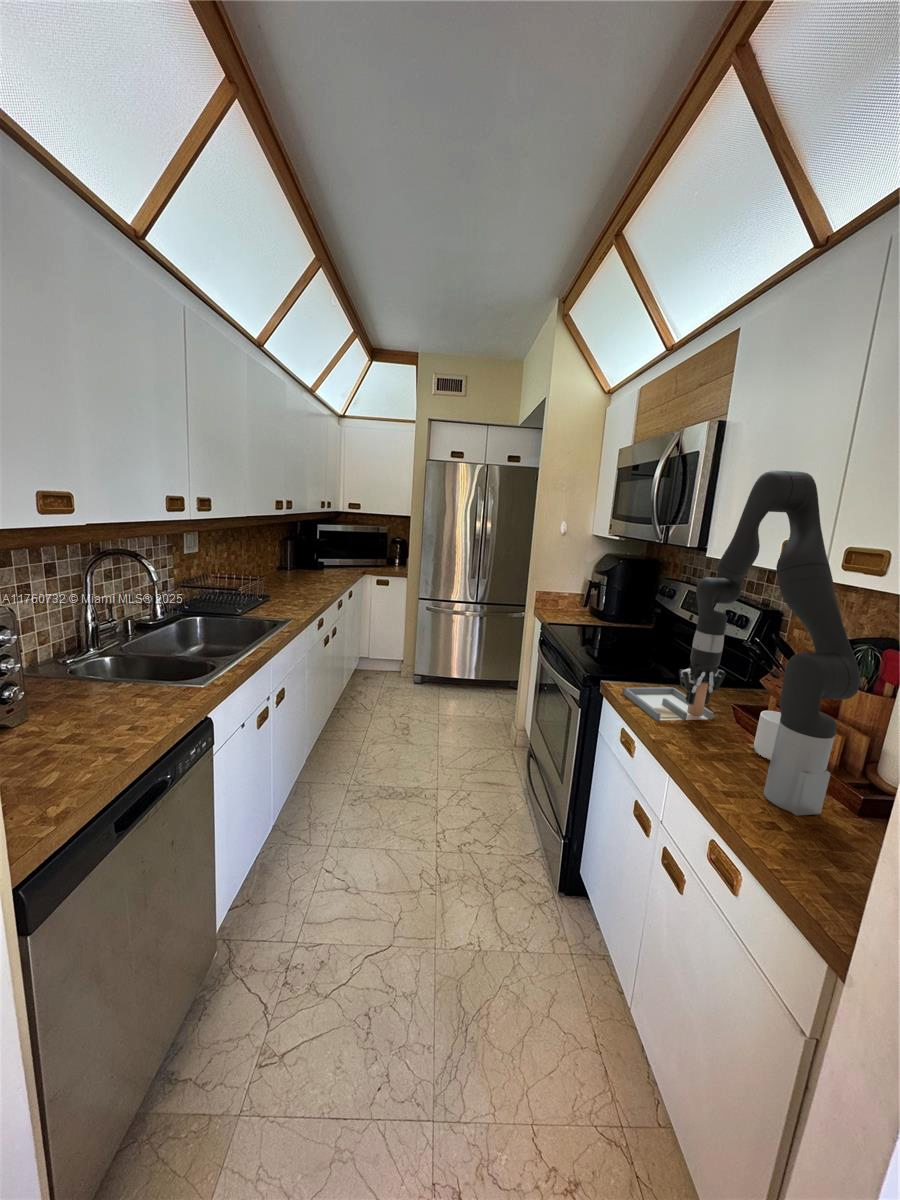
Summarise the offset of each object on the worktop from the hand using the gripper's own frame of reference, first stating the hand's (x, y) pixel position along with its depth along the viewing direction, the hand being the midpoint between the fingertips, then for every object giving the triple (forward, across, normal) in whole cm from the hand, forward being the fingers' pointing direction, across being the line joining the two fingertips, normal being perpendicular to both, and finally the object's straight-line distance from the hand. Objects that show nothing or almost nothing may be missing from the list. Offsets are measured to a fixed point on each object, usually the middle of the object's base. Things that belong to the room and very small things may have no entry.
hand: (696, 703), depth 136 cm
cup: (+6, +9, -18) cm, 21 cm away
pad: (+4, -8, +2) cm, 10 cm away
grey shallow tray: (+5, -4, +8) cm, 10 cm away
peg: (+3, 0, 0) cm, 3 cm away
